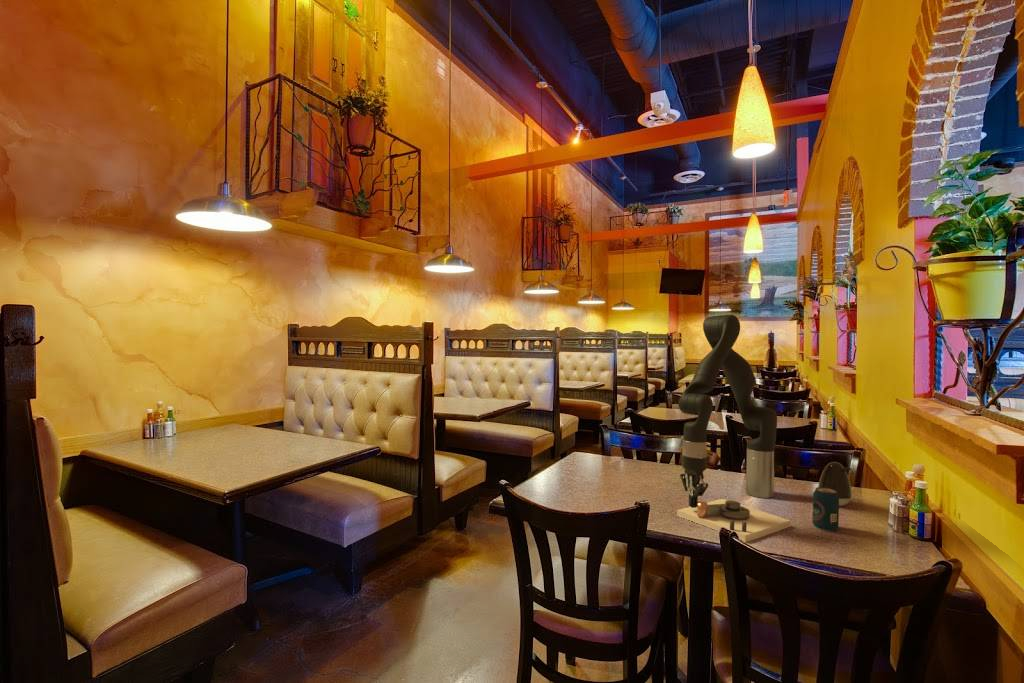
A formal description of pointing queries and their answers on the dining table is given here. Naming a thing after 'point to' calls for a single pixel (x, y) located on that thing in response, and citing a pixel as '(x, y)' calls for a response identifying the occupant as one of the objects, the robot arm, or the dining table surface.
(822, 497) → the soda can
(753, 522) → the base board
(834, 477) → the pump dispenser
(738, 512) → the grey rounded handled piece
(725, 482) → the dining table surface
